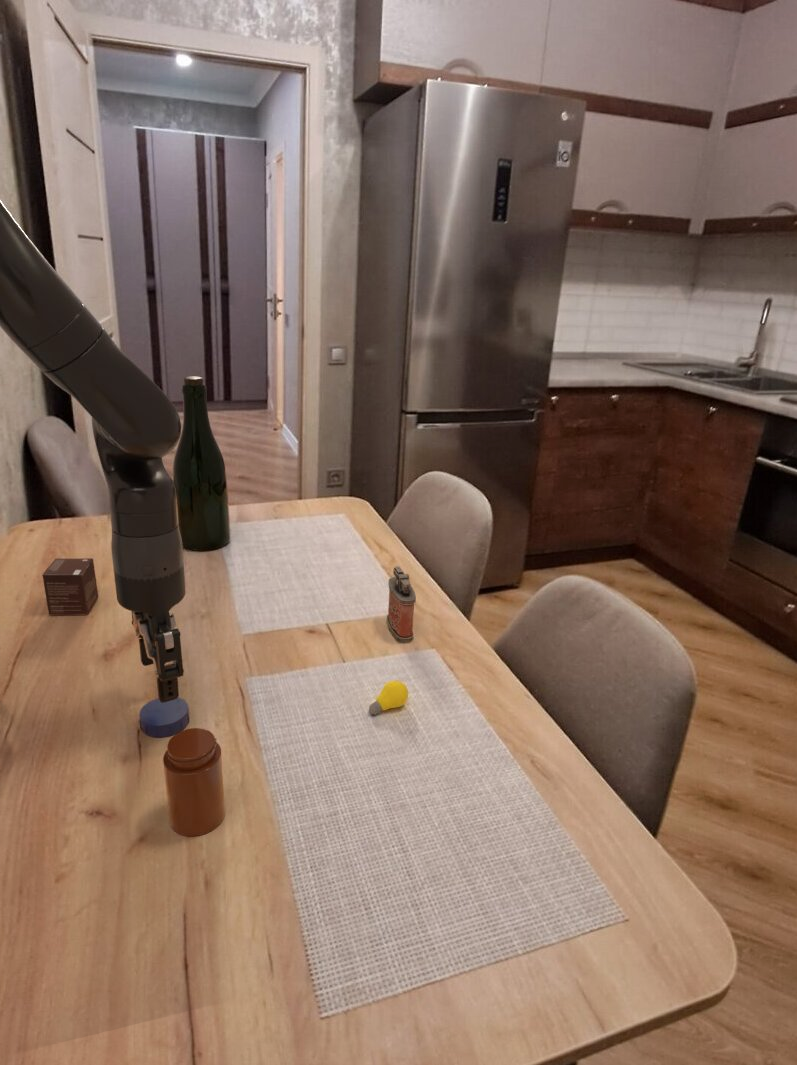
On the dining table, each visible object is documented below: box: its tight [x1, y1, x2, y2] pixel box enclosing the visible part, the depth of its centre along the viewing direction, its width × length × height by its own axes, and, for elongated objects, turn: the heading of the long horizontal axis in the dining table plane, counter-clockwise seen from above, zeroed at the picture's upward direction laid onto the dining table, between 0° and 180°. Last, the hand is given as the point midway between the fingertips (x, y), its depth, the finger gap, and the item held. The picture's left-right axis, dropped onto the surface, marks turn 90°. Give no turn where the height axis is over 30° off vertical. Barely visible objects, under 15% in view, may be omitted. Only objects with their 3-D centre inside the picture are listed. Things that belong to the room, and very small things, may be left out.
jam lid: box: [138, 697, 190, 738], centre depth 83 cm, size 6×6×2 cm
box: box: [42, 557, 99, 616], centre depth 107 cm, size 6×6×7 cm
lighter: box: [386, 565, 417, 644], centre depth 105 cm, size 8×3×10 cm, turn 17°
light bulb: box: [368, 680, 409, 716], centre depth 88 cm, size 3×6×4 cm, turn 128°
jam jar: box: [162, 727, 226, 837], centre depth 68 cm, size 6×6×10 cm
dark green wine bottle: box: [172, 375, 231, 551], centre depth 129 cm, size 10×10×33 cm
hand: (159, 680), depth 82 cm, fingers open, 8 cm apart
